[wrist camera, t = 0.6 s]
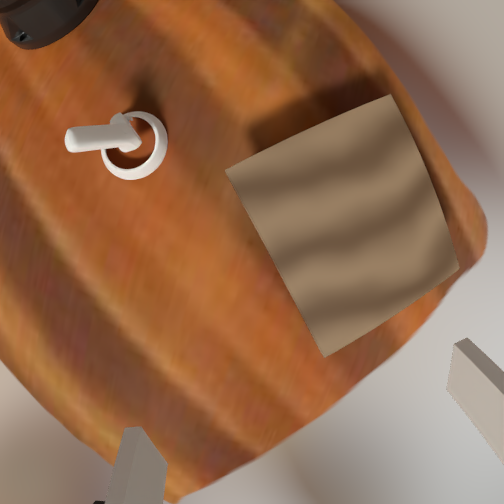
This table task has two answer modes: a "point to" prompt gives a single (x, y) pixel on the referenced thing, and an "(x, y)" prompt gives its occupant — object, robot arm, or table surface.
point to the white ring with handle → (120, 142)
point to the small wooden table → (348, 220)
